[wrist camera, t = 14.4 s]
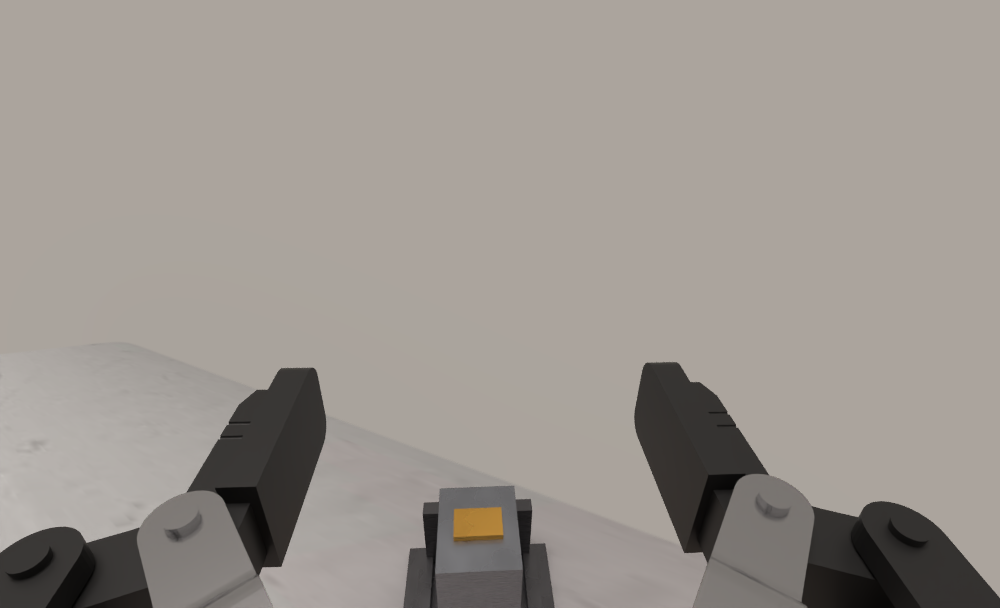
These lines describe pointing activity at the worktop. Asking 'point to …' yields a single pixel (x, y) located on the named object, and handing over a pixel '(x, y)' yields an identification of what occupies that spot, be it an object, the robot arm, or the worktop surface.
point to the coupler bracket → (423, 563)
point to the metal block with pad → (478, 548)
